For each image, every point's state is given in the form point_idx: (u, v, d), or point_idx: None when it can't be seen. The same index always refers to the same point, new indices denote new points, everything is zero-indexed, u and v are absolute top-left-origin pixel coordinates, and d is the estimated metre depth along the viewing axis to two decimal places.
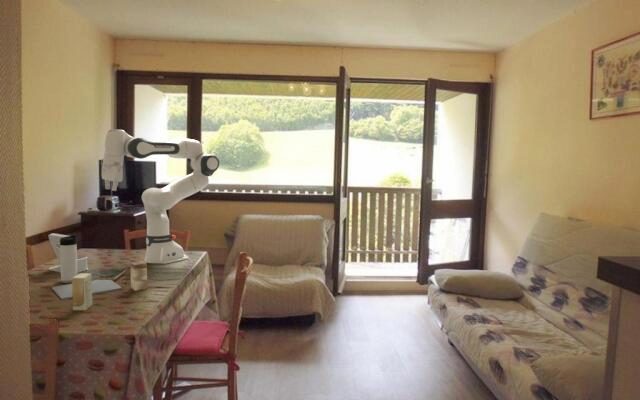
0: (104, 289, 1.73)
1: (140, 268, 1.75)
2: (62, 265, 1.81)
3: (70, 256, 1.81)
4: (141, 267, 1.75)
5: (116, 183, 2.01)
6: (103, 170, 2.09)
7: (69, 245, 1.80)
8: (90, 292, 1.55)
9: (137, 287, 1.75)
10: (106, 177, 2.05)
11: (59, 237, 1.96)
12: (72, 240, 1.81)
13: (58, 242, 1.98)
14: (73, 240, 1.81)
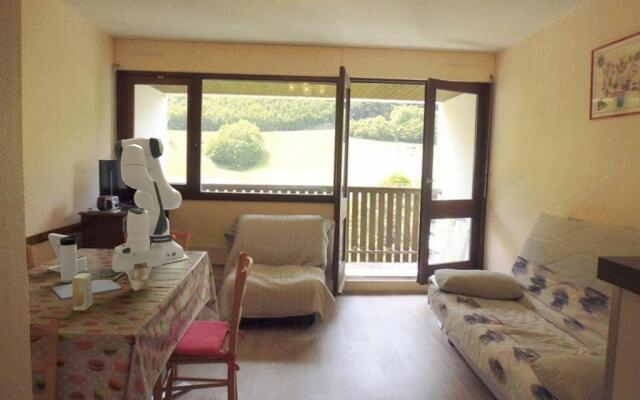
0: (104, 289, 1.73)
1: (140, 268, 1.75)
2: (62, 265, 1.81)
3: (70, 256, 1.81)
4: (141, 267, 1.75)
5: None
6: (120, 261, 1.70)
7: (69, 245, 1.80)
8: (90, 292, 1.55)
9: (137, 287, 1.75)
10: None
11: (58, 237, 1.96)
12: (72, 240, 1.81)
13: (57, 242, 1.98)
14: (73, 240, 1.81)
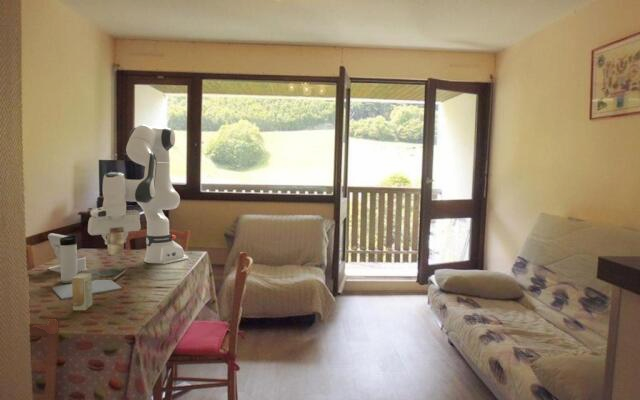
0: (104, 289, 1.73)
1: (116, 232, 1.74)
2: (62, 265, 1.81)
3: (70, 256, 1.81)
4: (117, 231, 1.74)
5: None
6: (96, 224, 1.69)
7: (69, 245, 1.80)
8: (90, 292, 1.55)
9: (114, 251, 1.74)
10: None
11: (57, 237, 1.96)
12: (72, 240, 1.81)
13: (57, 242, 1.98)
14: (73, 240, 1.81)
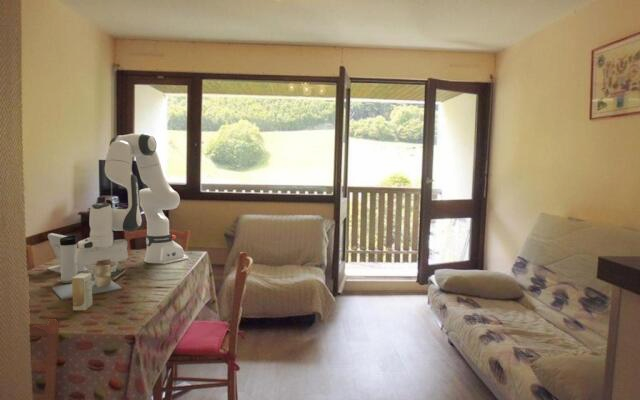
0: (104, 289, 1.73)
1: (103, 265, 1.76)
2: (62, 265, 1.81)
3: (70, 256, 1.81)
4: (104, 264, 1.76)
5: None
6: (82, 255, 1.71)
7: (69, 245, 1.80)
8: (90, 292, 1.55)
9: (100, 283, 1.76)
10: None
11: (57, 237, 1.96)
12: (72, 240, 1.81)
13: (56, 242, 1.98)
14: (73, 240, 1.81)
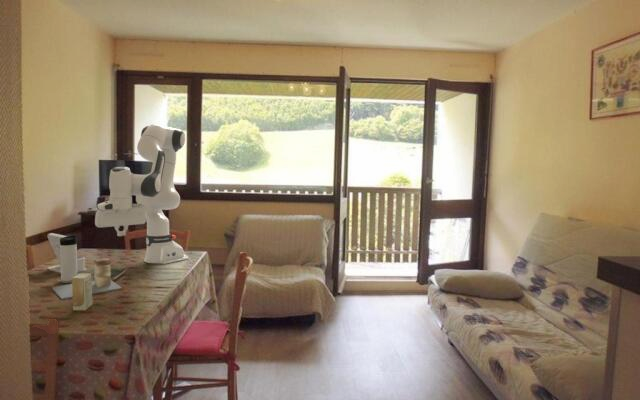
0: (104, 289, 1.73)
1: (103, 265, 1.76)
2: (62, 265, 1.81)
3: (70, 256, 1.81)
4: (104, 264, 1.76)
5: None
6: (103, 216, 1.75)
7: (69, 245, 1.80)
8: (90, 292, 1.55)
9: (100, 283, 1.76)
10: (117, 223, 1.79)
11: (56, 237, 1.96)
12: (72, 240, 1.81)
13: (56, 242, 1.98)
14: (73, 240, 1.81)
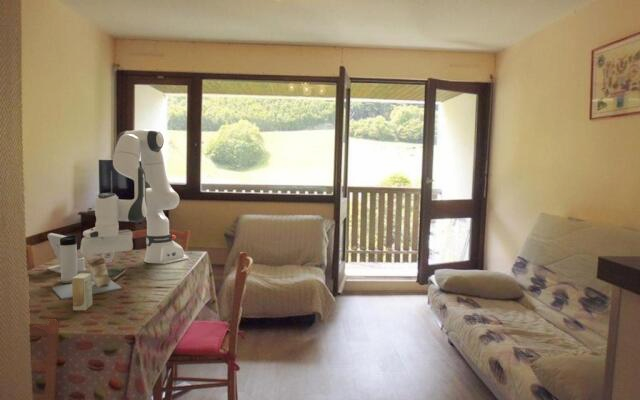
0: (104, 289, 1.73)
1: (98, 265, 1.75)
2: (62, 265, 1.81)
3: (70, 256, 1.81)
4: (99, 263, 1.75)
5: None
6: (88, 244, 1.72)
7: (69, 245, 1.80)
8: (90, 292, 1.55)
9: (100, 283, 1.76)
10: (103, 250, 1.76)
11: (56, 237, 1.96)
12: (72, 240, 1.81)
13: (56, 242, 1.98)
14: (73, 240, 1.81)
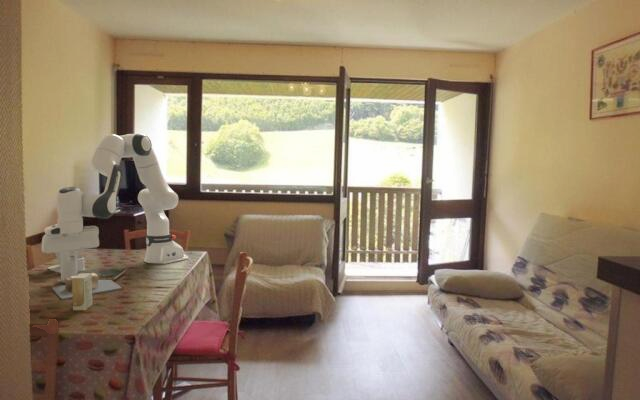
0: (104, 289, 1.73)
1: None
2: (62, 265, 1.81)
3: None
4: None
5: None
6: (49, 242, 1.63)
7: None
8: (90, 292, 1.55)
9: (94, 285, 1.74)
10: (66, 248, 1.67)
11: None
12: None
13: None
14: None
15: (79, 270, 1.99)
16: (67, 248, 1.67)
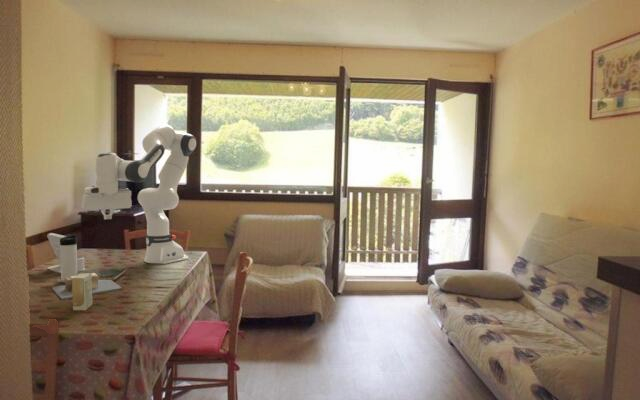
0: (104, 289, 1.73)
1: None
2: (62, 265, 1.81)
3: (70, 256, 1.81)
4: None
5: None
6: (89, 200, 1.82)
7: (69, 245, 1.80)
8: (90, 292, 1.55)
9: (94, 285, 1.74)
10: (103, 206, 1.86)
11: (56, 237, 1.96)
12: (72, 240, 1.81)
13: (55, 242, 1.98)
14: (73, 240, 1.81)
15: (79, 270, 1.99)
16: (104, 207, 1.86)
